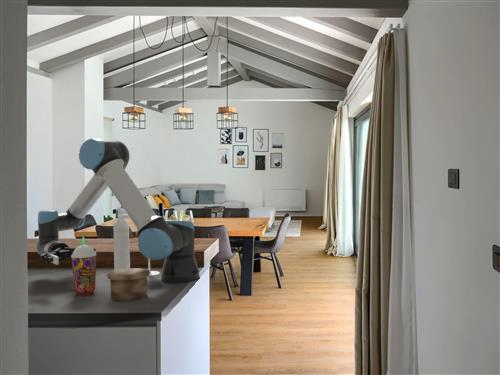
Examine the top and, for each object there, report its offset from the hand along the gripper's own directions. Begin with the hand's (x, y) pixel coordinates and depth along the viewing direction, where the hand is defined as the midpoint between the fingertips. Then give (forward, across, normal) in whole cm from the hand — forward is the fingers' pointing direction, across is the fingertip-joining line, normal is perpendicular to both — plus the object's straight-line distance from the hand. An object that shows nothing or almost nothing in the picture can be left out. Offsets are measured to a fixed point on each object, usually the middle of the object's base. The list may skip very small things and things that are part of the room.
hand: (77, 258), depth 161 cm
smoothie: (+6, 0, -12) cm, 13 cm away
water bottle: (-14, -25, -12) cm, 31 cm away
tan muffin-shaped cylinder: (+20, -10, -12) cm, 25 cm away
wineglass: (-6, -32, -12) cm, 35 cm away
